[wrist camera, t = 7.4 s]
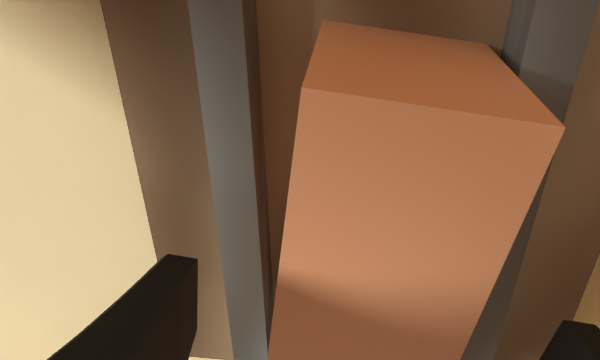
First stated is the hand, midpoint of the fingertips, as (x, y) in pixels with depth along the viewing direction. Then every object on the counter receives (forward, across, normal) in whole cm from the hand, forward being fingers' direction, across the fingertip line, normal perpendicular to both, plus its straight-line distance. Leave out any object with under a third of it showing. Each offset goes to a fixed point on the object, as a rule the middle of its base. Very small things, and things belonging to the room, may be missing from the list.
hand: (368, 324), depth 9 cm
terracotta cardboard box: (+5, 0, 0) cm, 5 cm away
